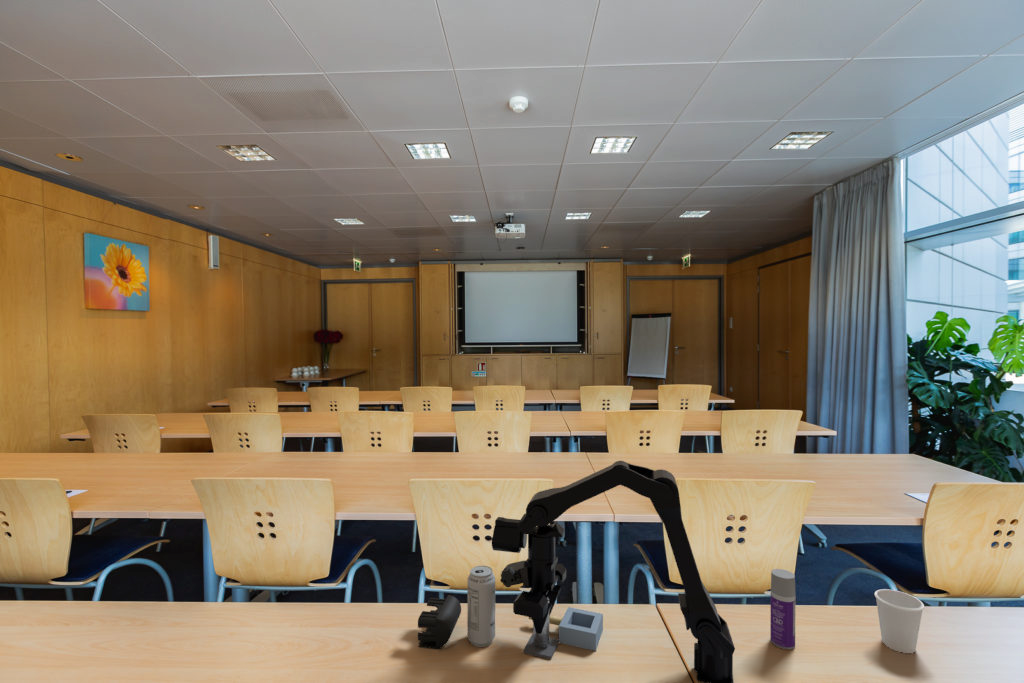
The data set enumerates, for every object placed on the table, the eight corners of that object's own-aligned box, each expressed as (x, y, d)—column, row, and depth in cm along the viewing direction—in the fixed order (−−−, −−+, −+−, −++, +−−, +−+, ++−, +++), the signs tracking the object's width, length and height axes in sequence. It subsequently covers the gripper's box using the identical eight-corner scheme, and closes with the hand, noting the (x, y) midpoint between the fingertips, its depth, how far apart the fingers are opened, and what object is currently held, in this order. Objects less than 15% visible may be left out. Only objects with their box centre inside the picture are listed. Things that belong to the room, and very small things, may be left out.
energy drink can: (498, 645, 105) (498, 575, 105) (470, 650, 103) (470, 579, 103) (491, 629, 111) (491, 562, 110) (465, 634, 109) (465, 566, 109)
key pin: (551, 639, 105) (551, 597, 105) (546, 648, 102) (546, 605, 102) (536, 635, 106) (536, 594, 106) (531, 645, 103) (531, 602, 103)
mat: (558, 642, 106) (558, 639, 106) (551, 659, 100) (551, 656, 100) (532, 636, 108) (532, 633, 108) (523, 652, 102) (523, 650, 102)
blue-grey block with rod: (602, 629, 110) (602, 613, 110) (595, 651, 103) (595, 633, 103) (535, 615, 116) (535, 600, 116) (523, 634, 109) (523, 618, 109)
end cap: (449, 652, 103) (449, 620, 103) (417, 649, 104) (417, 617, 104) (461, 624, 113) (461, 595, 113) (431, 622, 114) (431, 592, 114)
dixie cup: (893, 657, 101) (893, 609, 101) (865, 633, 109) (865, 588, 109) (934, 658, 101) (935, 609, 101) (903, 634, 109) (903, 589, 109)
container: (770, 646, 105) (770, 575, 105) (770, 634, 109) (770, 566, 109) (795, 652, 103) (796, 580, 103) (794, 640, 107) (795, 571, 107)
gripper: (520, 532, 116) (520, 599, 116) (488, 567, 98) (489, 645, 98) (566, 539, 112) (566, 608, 112) (542, 576, 94) (542, 658, 94)
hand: (541, 628), depth 104 cm, fingers open, 3 cm apart
